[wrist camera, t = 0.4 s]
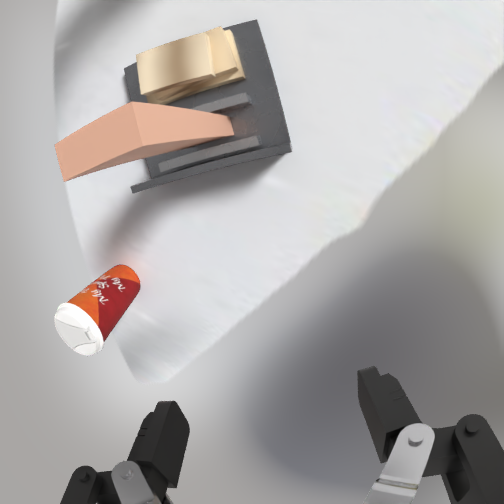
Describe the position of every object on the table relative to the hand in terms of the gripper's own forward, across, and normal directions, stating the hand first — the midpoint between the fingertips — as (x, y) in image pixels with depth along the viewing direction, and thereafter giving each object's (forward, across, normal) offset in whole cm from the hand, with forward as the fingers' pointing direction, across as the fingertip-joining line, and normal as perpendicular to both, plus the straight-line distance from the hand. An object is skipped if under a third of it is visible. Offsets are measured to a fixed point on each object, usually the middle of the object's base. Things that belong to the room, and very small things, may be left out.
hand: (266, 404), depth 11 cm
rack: (+24, +2, -19) cm, 31 cm away
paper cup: (+29, +22, +1) cm, 37 cm away
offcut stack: (+22, +2, -22) cm, 32 cm away
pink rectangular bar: (+23, +2, -15) cm, 28 cm away
